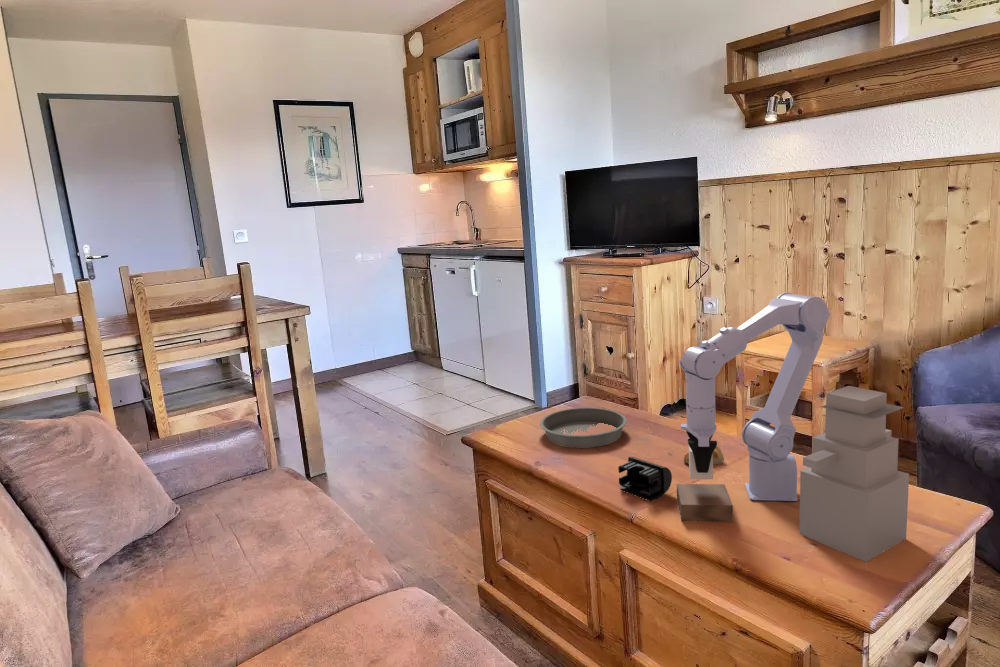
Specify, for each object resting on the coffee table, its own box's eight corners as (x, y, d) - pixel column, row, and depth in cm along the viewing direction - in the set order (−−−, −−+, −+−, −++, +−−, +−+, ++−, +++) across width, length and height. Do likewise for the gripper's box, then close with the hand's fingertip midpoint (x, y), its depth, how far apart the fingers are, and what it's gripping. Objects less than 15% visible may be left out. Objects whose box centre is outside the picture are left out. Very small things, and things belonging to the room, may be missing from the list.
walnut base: (724, 501, 140) (724, 484, 140) (732, 523, 131) (732, 505, 130) (677, 501, 142) (676, 484, 141) (681, 522, 133) (681, 504, 132)
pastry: (693, 470, 157) (692, 455, 157) (678, 460, 164) (677, 446, 163) (726, 463, 160) (726, 448, 159) (710, 454, 166) (710, 440, 166)
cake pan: (528, 429, 195) (528, 415, 194) (603, 416, 202) (602, 402, 201) (560, 457, 172) (559, 440, 171) (643, 441, 179) (642, 425, 178)
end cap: (672, 492, 146) (672, 464, 145) (652, 502, 142) (651, 473, 140) (637, 480, 154) (636, 453, 152) (617, 489, 149) (616, 461, 148)
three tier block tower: (922, 529, 123) (930, 386, 118) (849, 572, 111) (853, 415, 106) (855, 505, 134) (859, 374, 128) (782, 542, 122) (783, 398, 117)
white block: (711, 470, 138) (710, 444, 137) (713, 479, 134) (712, 451, 133) (689, 470, 139) (688, 443, 138) (690, 478, 135) (690, 451, 134)
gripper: (679, 395, 142) (680, 453, 144) (682, 416, 128) (683, 480, 130) (712, 394, 140) (713, 454, 142) (720, 416, 126) (720, 481, 129)
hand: (701, 467), depth 136 cm, fingers closed on white block, 4 cm apart
